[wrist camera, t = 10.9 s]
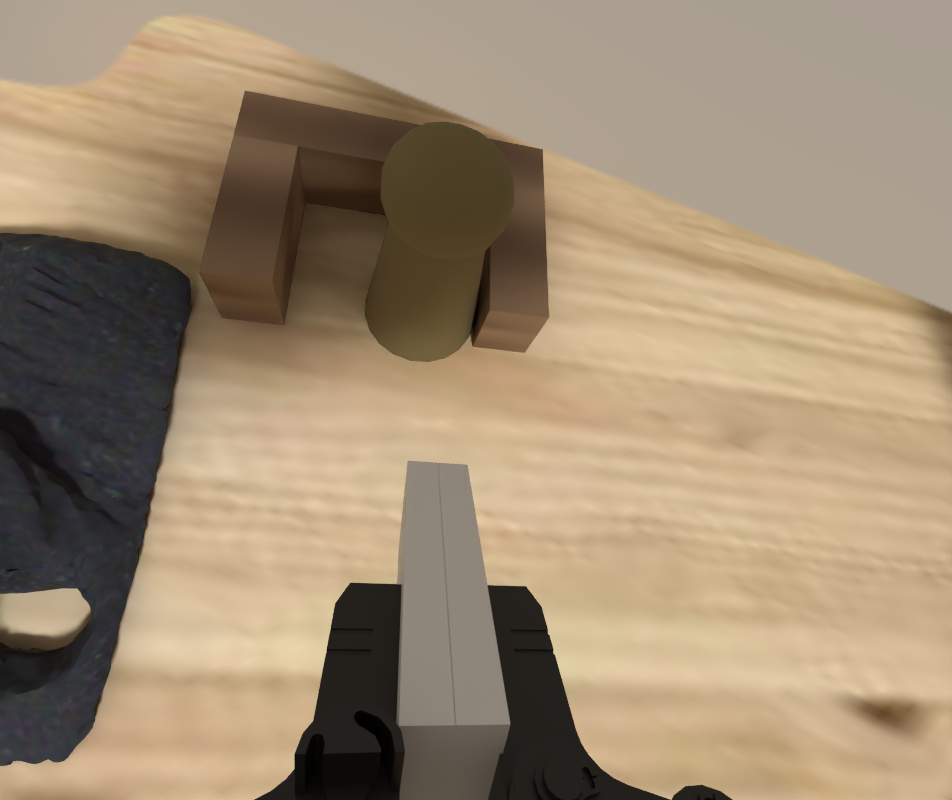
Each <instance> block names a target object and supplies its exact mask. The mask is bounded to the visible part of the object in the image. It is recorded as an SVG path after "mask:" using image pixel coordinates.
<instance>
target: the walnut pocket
mask: <svg viewBox="0 0 952 800" xmlns="http://www.w3.org/2000/svg"><path fill="white" fill-rule="evenodd" d="M418 126H421V125H416V124H411V123H406V122H401V121H396V120H391V119H386V118H381V117H376V116H371V115H365V114H360V113H355V112H350V111H345V110H340V109H335V108H330V107H325V106H320V105H315V104H310V103H305V102H300V101H294V100H289V99H284V98H279V97H274V96H269V95H264V94H259V93H254V92H249V91H245V93H244V97H243V101H242V105H241V109H240V113H239V117H238V121H237V125H236V128H235V132H234V136H233V140H232V144H231V148H230V152H229V156H228V160H227V164H226V168H225V172H224V176H223V180H222V184H221V188H220V192H219V195H218V199H217V203H216V207H215V211H214V215H213V219H212V223H211V227H210V231H209V235H208V239H207V243H206V247H205V251H204V255H203V258H202V262H201V266H200V270H199V273H200V275H201V277H202V279H203V281H204V283H205V285H206V287H207V289H208V291H209V293H210V295H211V297H212V299H213V301H214V303H215V305H216V307H217V309H218V311H219V313H220V315H221V317H222V318H230V319H239V320H247V321H256V322H265V323H273V324H282V325H284V322H285V316H286V311H287V305H288V299H289V294H290V288H291V282H292V276H293V271H294V265H295V259H296V254H297V248H298V242H299V236H300V231H301V225H302V219H303V214H304V208H305V202H308V203H314V204H321V205H327V206H333V207H339V208H346V209H352V210H358V211H364V212H370V213H377V214H383V215H386V214H385V211H384V208H383V204H382V201H381V176H382V168H383V165H384V163H385V160H386V158H387V156H388V154H389V152H390V150H391V148H392V146H393V145H394V144H395V143H396V142H397V141H398V140H399V139H401V138H402V137H403V136H404V135H405V134H406V133H408V132H409V131H410V130H411V129H413V128H415V127H418ZM490 140H491V141H492V142H494V144H495V145H496V146H497V147H498V148H499V150H500V151H501V152H502V153H503V154H504V156H505V158H506V161H507V163H508V165H509V167H510V170H511V173H512V176H513V178H514V194H515V195H514V206H513V209H512V212H511V215H510V217H509V220H508V223H507V225H506V227H505V229H504V231H503V232H502V233H501V234H500V235H499V236H498V238H497V239H496V240H495V241H494V242H493V243H492V244H491V245H490V246H489V247H488V248H487V249H486V250H485V256H484V262H483V268H482V274H481V280H480V286H479V292H478V297H477V303H476V309H475V315H474V321H473V347H481V348H490V349H498V350H507V351H516V352H524V353H525V351H526V350H527V348H528V347H529V345H530V344H531V343H532V341H533V340H534V338H535V337H536V335H537V334H538V333H539V331H540V330H541V328H542V327H543V325H544V324H545V322H546V321H547V320H548V318H549V310H548V283H547V256H546V229H545V202H544V175H543V149H538V148H533V147H528V146H523V145H518V144H513V143H508V142H503V141H497V140H492V139H490Z"/></svg>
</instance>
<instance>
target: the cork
mask: <svg viewBox="0 0 952 800" xmlns="http://www.w3.org/2000/svg"><path fill="white" fill-rule="evenodd" d="M514 195H515V194H514V178H513V176H512V173H511V170H510V167H509V165H508V163H507V161H506V158H505V156H504V154H503V153H502V152H501V151H500V150H499V148H498V147H497V146H496V145H495V144H494V142H492V141H491V140H490V139H488V138H487V137H485V136H484V135H483V134H481V133H480V132H478V131H476V130H473V129H471V128H468V127H466V126H464V125H460V124H454V123H448V122H435V123H426V124H423V125H421V126H418V127H415V128H413V129H411V130H410V131H409V132H408V133H406V134H405V135H404V136H403V137H402V138H401V139H399V140H398V141H397V142H396V143H395V144H394V145H393V146H392V148H391V150H390V152H389V154H388V156H387V158H386V160H385V163H384V165H383V168H382V176H381V201H382V204H383V208H384V211H385V214H386V217H387V220H388V223H389V224H388V227H387V231H386V234H385V238H384V241H383V244H382V248H381V251H380V254H379V258H378V261H377V265H376V268H375V271H374V275H373V278H372V281H371V285H370V288H369V292H368V295H367V298H366V309H365V316H366V319H367V323H368V326H369V329H370V331H371V333H372V334H373V335H374V337H375V338H376V339H377V341H378V342H379V344H381V345H382V346H383V347H385V348H386V349H387V350H389V351H390V352H391V353H393V354H394V355H397V356H400V357H403V358H405V359H408V360H411V361H425V362H429V361H434V360H438V359H443V358H446V357H447V356H449V355H451V354H452V353H454V352H456V351H457V350H459V349H460V348H461V346H462V345H463V344H464V343H465V341H466V340H467V339H468V337H469V334H470V332H471V329H472V326H473V321H474V315H475V309H476V303H477V297H478V292H479V286H480V280H481V274H482V268H483V262H484V256H485V250H486V249H487V248H488V247H489V246H490V245H491V244H492V243H493V242H494V241H495V240H496V239H497V238H498V236H499V235H500V234H501V233H502V232H503V231H504V229H505V227H506V225H507V223H508V220H509V217H510V215H511V212H512V209H513V206H514Z"/></svg>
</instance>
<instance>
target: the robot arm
mask: <svg viewBox="0 0 952 800" xmlns="http://www.w3.org/2000/svg"><path fill="white" fill-rule="evenodd" d="M255 800H670V799H667V798H664V797H661V796H658V795H655V794H652V793H649V792H646V791H643V790H641V789H638V788H635V787H632V786H629V785H627V784H625V783H622V782H620V781H618V780H616V779H614V778H613V777H611V776H610V775H609V774H607V773H606V772H605V771H603V770H602V769H601V768H600V767H599V766H598V765H597V764H596V763H595V762H594V761H593V759H592V758H591V757H590V756H589V755H588V753H587V752H586V750H585V749H584V747H583V746H582V744H581V742H580V739H579V737H578V734H577V732H576V729H575V725H574V721H573V718H572V714H571V711H570V707H569V704H568V700H567V697H566V693H565V689H564V686H563V682H562V679H561V675H560V672H559V668H558V664H557V661H556V657H555V655H554V654H553V647H552V643H551V639H550V636H549V635H548V629H547V625H546V622H545V618H544V614H543V611H542V607H541V606H540V604H539V603H538V602H537V600H536V599H535V598H534V596H533V595H532V594H531V592H530V591H529V590H528V589H527V587H525V586H491V585H487V580H486V574H485V568H484V562H483V556H482V550H481V544H480V538H479V532H478V526H477V520H476V514H475V508H474V502H473V496H472V490H471V484H470V478H469V472H468V466H467V465H462V464H447V463H432V462H417V461H408V463H407V473H406V483H405V493H404V502H403V512H402V522H401V532H400V541H399V556H398V576H397V584H371V583H350V584H349V585H348V587H347V588H346V590H345V591H344V592H343V594H342V595H341V596H340V598H339V599H338V601H337V602H336V603H335V608H334V614H333V619H332V624H331V631H330V635H329V640H328V646H327V653H326V657H325V662H324V667H323V673H322V678H321V683H320V689H319V694H318V699H317V705H316V710H315V715H314V721H313V722H312V723H311V724H310V726H309V727H308V728H307V729H306V730H305V731H304V732H303V735H302V737H301V739H300V742H299V744H298V747H297V749H296V752H295V769H294V771H293V772H292V773H291V774H290V775H289V776H288V777H287V779H286V780H284V781H283V782H282V783H281V784H279V785H278V786H277V787H276V788H274V789H273V790H272V791H270V792H268V793H266V794H264V795H262V796H261V797H259V798H257V799H255ZM672 800H732V799H731V798H729V797H728V796H726V795H725V794H724V793H722V792H721V791H718V790H715V789H712V788H709V787H706V786H703V785H696V786H685V787H684V788H683V789H682V790H680V791H679V792H678V793H676V794H675V795H674V796H673V798H672Z"/></svg>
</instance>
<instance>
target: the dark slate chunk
mask: <svg viewBox="0 0 952 800" xmlns="http://www.w3.org/2000/svg"><path fill="white" fill-rule="evenodd" d="M190 295H191V290H190V281H189V278H188V277H187V276H186V275H184V274H183V273H182V272H181V271H179V270H178V269H177V268H175V267H173V266H172V265H170V264H168V263H166V262H164V261H161V260H157V259H154V258H150V257H148V256H145V255H144V254H142V253H139V252H134V251H127V250H122V249H117V248H114V247H111V246H109V245H106V244H99V243H94V242H83V241H78V240H74V239H70V238H61V237H58V236H49V235H42V234H12V233H0V594H6V593H28V592H35V591H45V590H52V589H60V588H77V589H78V590H79V591H80V592H81V594H82V596H83V598H84V599H85V600H86V601H87V602H88V604H89V605H90V607H91V618H90V621H89V623H88V624H87V625H86V627H85V628H84V629H83V630H82V631H81V632H80V633H79V635H78V636H77V637H76V638H75V640H74V641H73V642H72V643H71V644H69V645H67V646H64V647H62V648H59V649H56V650H50V651H46V650H40V649H34V648H33V649H30V650H24V649H15V648H10V647H7V646H6V645H4V644H2V643H1V642H0V766H5V765H10V764H11V763H12V762H13V761H23V762H27V763H31V764H37V763H41V762H43V761H45V760H47V759H49V760H51V761H53V762H61V761H64V760H65V759H67V758H68V757H69V755H70V754H71V753H72V751H73V750H74V748H75V747H76V746H77V745H78V744H79V743H80V742H81V741H82V740H83V739H84V738H85V737H86V736H87V734H88V733H89V732H90V730H91V729H92V727H93V724H94V722H95V708H96V707H97V703H98V698H99V696H100V694H101V693H102V691H103V688H104V686H105V683H106V681H107V678H108V675H109V672H110V669H111V651H112V648H113V645H114V643H115V640H116V638H117V634H118V630H119V624H120V620H121V617H122V614H123V612H124V609H125V606H126V602H127V596H128V592H129V589H130V586H131V583H132V580H133V576H134V573H135V570H136V567H137V565H138V560H139V556H138V552H137V550H138V548H139V546H140V545H141V543H142V541H143V539H144V530H145V528H146V521H145V518H144V517H145V515H146V513H147V512H148V510H149V508H150V497H149V493H150V491H151V489H152V487H153V486H154V484H155V482H156V479H157V478H156V467H157V463H158V459H159V455H160V452H161V450H162V447H163V444H164V440H165V435H166V431H167V417H168V412H167V411H166V410H165V408H166V407H167V406H168V404H169V402H170V400H171V398H172V394H173V385H174V379H173V376H174V373H175V371H176V366H177V360H178V348H179V343H180V337H181V334H182V332H183V331H184V329H185V327H186V326H187V323H188V319H189V316H190V313H191V306H190V300H191V296H190Z"/></svg>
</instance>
